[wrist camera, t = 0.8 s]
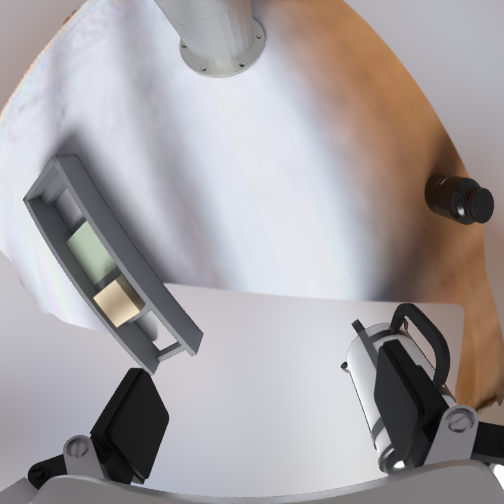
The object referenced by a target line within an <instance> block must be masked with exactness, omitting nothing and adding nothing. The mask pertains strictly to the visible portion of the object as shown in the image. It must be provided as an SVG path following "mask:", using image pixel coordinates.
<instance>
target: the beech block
mask: <svg viewBox="0 0 504 504" xmlns="http://www.w3.org/2000/svg"><path fill="white" fill-rule="evenodd" d="M94 300H95V301H96V302H97V304H98V305H99V306H100V308H101V309H102V310H103V311H104V313H105V314H106V315H107V316H108V318H109V319H110V320H111V321H112V323H113V324H114V325H115V326H116V327H118V326H120V325H121V324H123V323H124V322H126V321H127V320H129V319H130V318H132V317H133V316H135V315H136V314H138V313H139V312H141V310H142V309H143V308H144V306H145V305H146V303H145V302H144V300H143V299H142V298H141V297H140V295H139V294H138V293H137V291H136V290H135V289H134V288H133V286H132V285H131V284H130V282H129V281H128V280H127V278H126V277H125V276H124V274H121V275H120V276H119V277H118V278H116V279H115V280H114V281H113V282H111V283H110V284H109V285H108V286H107V287H105V288H104V289H103V290H102V291H101V292H99V293H98V294H97V295H96V296H95V297H94Z"/></svg>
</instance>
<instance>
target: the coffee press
mask: <svg viewBox="0 0 504 504" xmlns="http://www.w3.org/2000/svg"><path fill="white" fill-rule="evenodd" d="M405 316H407V317H408V318H409V319H410V320H411V321H412V322H413V324H414V325H415V326H416V327H417V328H418V330H419V331H420V332H421V333H422V334H423V336H424V337H425V338H426V339H427V341H428V342H429V343H430V345H431V346H432V348H433V349H434V352H435V357H436V369H434V368H433V366H432V365H431V363H430V362H429V361H428V359H427V358H426V356H425V355H424V354H423V353H422V351H421V350H420V348H419V347H418V345H417V344H416V343H415V342H414V340H413V339H412V337H411V336H410V335H409V333H408V331H407V329H408V322H407V320H406V319H405V318H404V317H405ZM403 323H404V329H405V330H406V332H407V333H406V332H405V331H404V330H403V329H402V328H401V326H402V324H403ZM352 326H353V327H354V329H355V330H356V332H357V333H358V336H357V337H356V338H355V339H354V341H353V342H352V343H351V345H350V347H349V350H348V353H347V362H344V363H343V364H342V365H341V368H342V369H343V370H344V371H345V372H347V373H350V375H351V378H352V381H353V383H354V386H355V389H356V392H357V395H358V397H359V400H360V403H361V406H362V409H363V412H364V415H365V418H366V421H367V424H368V426H369V430H370V433H371V438H372V441H373V444H374V447H375V449H376V450H377V451H378V454H379V460H378V464H379V468H380V470H381V471H382V472H385V473H387V474H388V475H389V476H391V475H394V474H397V473H401V472H404V471H408V470H411V469H414V468H415V467H414V465H413V464H411V465H408V466H406V467H405V466H404V464H403V461H400V462H399V461H398V459H397V457H396V454H395V451H394V449H393V446H392V444H391V441H390V438H389V436H388V433H387V431H386V428H385V426H384V423H383V421H382V418H381V416H380V413H379V411H378V408H377V406H376V403H375V401H374V387H375V380H376V371H377V362H378V352H379V347H380V346H383V342H385V341H389V340H393V339H398V340H399V341H400V342H401V344H402V345H403V347H404V348H405V349H406V351H407V352H408V354H409V355H410V356H411V358H412V359H413V361H414V362H415V364H416V365H421V366H422V367H423V368H424V370H425V371H426V373H427V374H428V376H429V377H430V378H431V380H432V381H433V383H434V384H435V386H436V387H437V389H438V390H439V392H440V393H441V395H442V396H443V398H444V399H445V401H446V402H447V404H448V405H449V407H450V408H451V407H453V406H456V405H457V404H456V400H455V398H454V397H453V396H452V394H451V392H450V391H449V389H448V388H447V386H446V385H445V382H446V379H447V377H448V373H449V369H450V353H449V348H448V345H447V342H446V340H445V338H444V337H443V335H442V334H441V332H440V331H439V330H438V329H437V327H436V326H435V325H434V324H433V323H432V322H431V321H430V320H429V319H428V318H427V317H426V315H425V314H424V313H422V311H421V310H419V308H418V307H416V306H415V305H414V304H411V303H403V304H400V305H399V306H398V307H397V309H396V311H395V313H394V316H393V318H392V322H391V323H380V324H376V325H373V326H371V327H369V328H367V329H365V328H364V327H363V326H362V324H361V323H360V321H359V320H358V319H357V320H356V321H355V322H353V323H352ZM410 338H411V339H412V340H413V341H412V340H411V339H410ZM414 343H415V344H414ZM416 346H417V347H418V348H417V347H416ZM419 350H420V351H421V352H420V351H419ZM422 354H423V355H424V356H423V355H422ZM425 358H426V359H425ZM427 361H428V362H429V363H428V362H427ZM429 364H430V365H431V366H430V365H429ZM347 366H348V367H349V370H350V371H349V370H347V369H345V368H346V367H347ZM432 368H433V369H432ZM434 371H435V372H434ZM444 385H445V386H444ZM445 387H446V388H445Z"/></svg>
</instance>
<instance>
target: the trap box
mask: <svg viewBox="0 0 504 504" xmlns="http://www.w3.org/2000/svg"><path fill="white" fill-rule="evenodd" d="M66 188H68V190H69V192H70V194H71V195H72V197H73V199H74V200H75V202H76V204H77V205H78V207H79V209H80V210H81V212H82V214H83V215H84V217H85V218H86V220H87V221H86V222H85V223H84V224H83V225H82V226H81V227H80V228H79V229H78V230H77V231H76V232H75V233H74V234H73V235H71V233H70V232H69V230H68V228H67V227H66V225H65V223H64V222H63V220H62V218H61V217H60V215H59V213H58V211H57V210H56V208H55V206H54V204H53V203H54V202H55V201H56V200H57V199H58V197H59V196H60V195H61V194H62V192H63V191H64V190H65V189H66ZM23 201H24V203H25V205H26V207H27V209H28V211H29V213H30V215H31V217H32V219H33V220H34V222H35V224H36V226H37V228H38V230H39V231H40V233H41V235H42V237H43V238H44V240H45V242H46V243H47V245H48V247H49V248H50V250H51V252H52V253H53V255H54V256H55V258H56V260H57V261H58V263H59V264H60V266H61V267H62V269H63V270H64V272H65V273H66V275H67V276H68V278H69V279H70V281H71V282H72V284H73V285H74V286H75V288H76V289H77V291H78V292H79V293H80V295H81V296H82V298H83V299H84V300H85V302H86V303H87V304H88V306H89V307H90V308H91V310H92V311H93V312H94V313H95V315H96V316H97V317H98V318H99V320H100V321H101V322H102V323H103V325H104V326H105V327H106V328H107V329H108V331H109V332H110V333H111V334H112V335H113V337H114V338H115V339H116V340H117V341H118V342H119V344H120V345H121V346H122V347H123V348H124V349H125V350H126V351H127V352H128V354H129V355H130V356H131V357H132V358H133V359H134V360H135V361H136V362H137V363H138V364H139V365H140V366H141V367H142V368H144V369H145V371H147V372H149V374H150V376H152V375H154V373H155V371H156V369H157V367H158V365H159V363H160V362H162V361H164V360H166V359H168V358H170V357H172V356H174V355H176V354H178V353H180V352H182V351H184V350H186V351H187V352H188V353H189V354H190V355H191V356H194V355H196V354H197V352H198V349H199V346H200V343H201V340H202V337H203V332H202V331H201V330H200V329H199V328H198V327H197V325H196V324H195V323H194V322H193V321H192V319H191V318H190V317H189V316H188V315H187V314H186V313H185V311H184V310H183V308H182V307H181V306H180V305H179V303H178V302H177V301H176V300H175V298H174V297H173V296H172V295H171V293H170V292H169V291H168V290H167V288H166V287H165V286H164V284H163V283H162V282H161V280H160V279H159V278H158V277H157V275H156V274H155V273H154V271H153V270H152V269H151V267H150V266H149V264H148V263H147V262H146V260H145V259H144V258H143V256H142V255H141V254H140V252H139V251H138V249H137V248H136V247H135V245H134V244H133V242H132V241H131V239H130V238H129V237H128V235H127V234H126V232H125V231H124V229H123V228H122V226H121V225H120V223H119V222H118V220H117V219H116V217H115V216H114V214H113V213H112V211H111V210H110V208H109V207H108V205H107V204H106V202H105V201H104V199H103V197H102V196H101V194H100V193H99V191H98V189H97V188H96V186H95V185H94V183H93V181H92V180H91V178H90V176H89V175H88V173H87V171H86V170H85V168H84V166H83V164H82V163H81V161H80V159H79V157H78V156H77V155H55V156H54V157H53V158H52V160H51V161H50V162H49V163H48V165H47V166H46V167H45V169H44V170H43V171H42V173H41V174H40V175H39V177H38V178H37V180H36V181H35V182H34V184H33V185H32V187H31V188H30V190H29V191H28V192H27V194H26V195H25V197H24V198H23ZM121 274H124V276H125V277H126V278H127V280H128V281H129V282H130V284H131V285H132V286H133V288H134V289H135V290H136V291H137V293H138V294H139V295H140V297H141V298H142V299H143V300H144V302H145V303H146V305H145V306H144V308H143V309H142V310H141V312H139V313H138V314H136V315H135V316H133V317H132V318H130V319H129V320H127V321H126V322H124V323H123V324H121V325H120V326H118V327H116V326H115V325H114V324H113V323H112V321H111V320H110V319H109V318H108V316H107V315H106V314H105V313H104V311H103V310H102V309H101V308H100V306H99V305H98V304H97V302H96V301H95V300H94V297H95V296H96V295H97V294H98V293H99V292H101V291H102V290H103V289H104V288H105V287H107V286H108V285H109V284H110V283H111V282H113V281H114V280H115V279H116V278H118V277H119V276H120V275H121ZM150 310H152V312H153V313H154V314H155V315H156V316H157V318H158V319H159V320H160V321H161V322H162V323H163V325H164V326H165V327H166V328H167V329H168V331H169V332H170V333H171V334H172V335H173V336H174V337H175V339H176V340H177V341H178V342H176V343H174V344H172V345H170V346H169V347H167V348H165V349H163V350H161V351H160V350H159V349H158V348H157V347H156V346H155V345H154V344H153V343H152V341H151V340H150V339H149V338H148V337H147V336H146V335H145V333H144V332H143V331H142V330H141V329H140V328H139V326H138V325H137V324H136V323H135V322H134V321H135V320H137V319H138V318H140V317H141V316H143V315H144V314H146V313H147V312H149V311H150Z"/></svg>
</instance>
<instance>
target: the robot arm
mask: <svg viewBox="0 0 504 504" xmlns="http://www.w3.org/2000/svg"><path fill="white" fill-rule="evenodd" d="M154 1H155V2H156V4H157V5H158V6H159V8H160V9H161V10H162V12H163V13H164V14H165V16H166V17H167V19H168V20H169V21H170V23H171V24H172V26H173V27H174V28H175V30H176V31H177V33H178V34H179V36H180V37H181V40H180V53H181V56H182V59H183V60H184V62H185V63H186V64H187V66H188V67H189V68H191V69H192V70H193V71H194V72H196V73H198V74H200V75H204V76H207V77H214V78H219V77H228V76H233V75H236V74H239V73H241V72H243V71H245V70H247V69H248V68H249V67H251V66H252V65H253V64H254V63H255V62H256V61H257V60H258V59H259V57H260V56H261V54H262V52H263V49H264V43H265V36H264V32H263V29H262V27H261V25H260V24H259V23H258V22H257V20H256V19H254V18H253V17H252V8H251V0H154ZM258 38H261V39H258ZM185 47H186V48H185ZM241 65H244V67H241ZM205 69H206V71H203V70H205ZM374 401H375V403H376V406H377V408H378V411H379V413H380V416H381V418H382V421H383V423H384V426H385V428H386V431H387V433H388V436H389V438H390V441H391V444H392V446H393V449H394V451H395V454H396V457H397V459H398V461H399V462H400V461H403V464H404V466H405V467H406V466H408V465H411V464H413V465H414V467H415V468H414V469H411V470H408V471H404V472H401V473H397V474H394V475H391V476H388V477H384V478H381V479H377V480H373V481H369V482H365V483H361V484H356V485H352V486H347V487H342V488H337V489H332V490H326V491H320V492H313V493H306V494H296V495H287V496H274V497H211V496H198V495H187V494H178V493H172V492H165V491H159V490H153V489H147V488H142V487H137V486H132V485H130V484H131V482H134V483H138V484H144V481H145V479H148V477H149V475H150V472H151V470H152V467H153V464H154V461H155V458H156V455H157V453H158V450H159V447H160V444H161V441H162V439H163V436H164V433H165V430H166V427H167V425H168V422H169V414H168V412H167V410H166V408H165V406H164V404H163V402H162V400H161V398H160V396H159V394H158V392H157V390H156V387H155V385H154V383H153V381H152V378H151V376H150V374H149V372H147V371H145V369H144V368H130V369H129V370H128V372H127V374H126V375H125V377H124V378H123V380H122V381H121V383H120V385H119V386H118V388H117V389H116V391H115V393H114V394H113V396H112V397H111V399H110V401H109V402H108V404H107V405H106V407H105V409H104V410H103V412H102V414H101V415H100V417H99V419H98V420H97V422H96V423H95V425H94V427H93V428H92V430H91V432H90V434H91V437H90V438H89V437H87V436H84V435H77V436H74V437H72V438H70V439H69V440H68V441H67V442H66V443H65V445H64V448H63V454H62V455H59V456H56V457H53V458H51V459H48V460H45V461H42V462H39V463H37V464H35V465H33V466H32V467H31V468H30V470H29V472H28V479H27V478H25V477H24V478H22V479H20V480H19V481H17V482H16V483H14V484H13V485H11V486H9V487H8V488H6V489H5V490H3V491H1V492H0V504H504V426H501V425H496V424H490V423H485V422H480V421H479V418H478V415H477V413H476V411H475V410H474V409H472V408H471V407H469V406H466V405H456V406H453V407H451V408H450V407H449V405H448V404H447V402H446V401H445V399H444V398H443V396H442V395H441V393H440V392H439V390H438V389H437V387H436V386H435V384H434V383H433V381H432V380H431V378H430V377H429V376H428V374H427V373H426V371H425V370H424V368H423V367H422V366H421V365H416V364H415V362H414V361H413V359H412V358H411V356H410V355H409V354H408V352H407V351H406V349H405V348H404V347H403V345H402V344H401V342H400V341H399V340H398V339H393V340H389V341H385V342H383V346H380V347H379V352H378V362H377V371H376V380H375V387H374Z"/></svg>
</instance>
